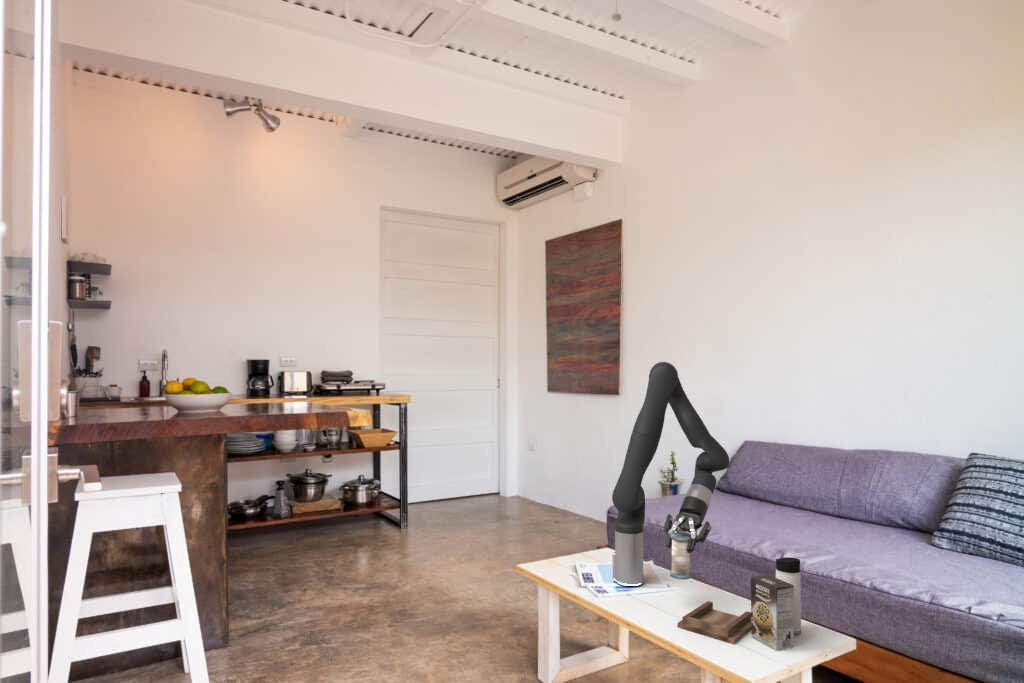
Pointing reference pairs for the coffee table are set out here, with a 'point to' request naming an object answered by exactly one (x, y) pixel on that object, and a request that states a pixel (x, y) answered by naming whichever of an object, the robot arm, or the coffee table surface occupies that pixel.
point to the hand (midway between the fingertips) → (678, 549)
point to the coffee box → (772, 612)
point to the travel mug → (791, 574)
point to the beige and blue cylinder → (680, 556)
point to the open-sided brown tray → (716, 623)
